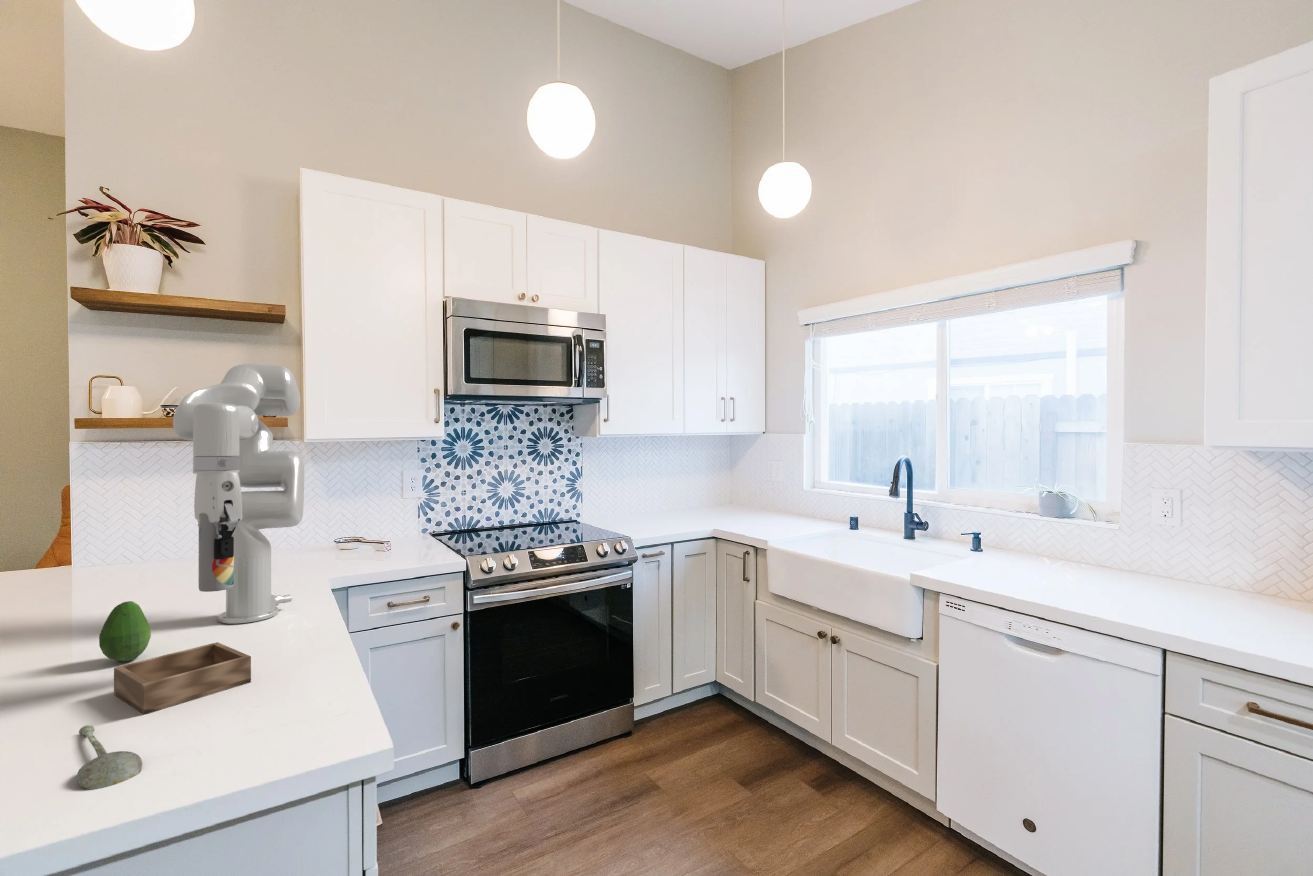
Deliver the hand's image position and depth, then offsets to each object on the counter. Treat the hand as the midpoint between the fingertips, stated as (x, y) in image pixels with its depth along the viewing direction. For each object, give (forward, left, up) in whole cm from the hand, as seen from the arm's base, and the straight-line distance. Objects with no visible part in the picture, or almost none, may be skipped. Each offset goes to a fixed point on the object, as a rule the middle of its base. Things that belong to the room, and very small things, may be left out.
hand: (216, 555), depth 122 cm
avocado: (+9, -19, -22) cm, 30 cm away
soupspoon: (+24, +25, -23) cm, 42 cm away
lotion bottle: (0, 0, -7) cm, 7 cm away
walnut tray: (+8, +7, -22) cm, 24 cm away
